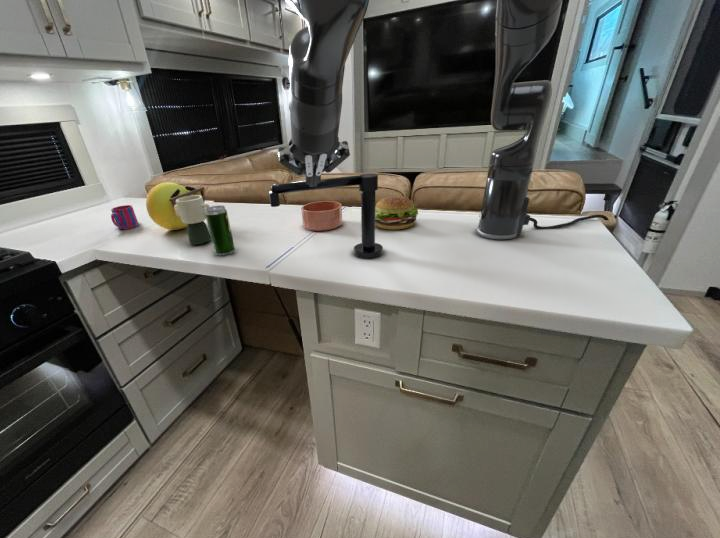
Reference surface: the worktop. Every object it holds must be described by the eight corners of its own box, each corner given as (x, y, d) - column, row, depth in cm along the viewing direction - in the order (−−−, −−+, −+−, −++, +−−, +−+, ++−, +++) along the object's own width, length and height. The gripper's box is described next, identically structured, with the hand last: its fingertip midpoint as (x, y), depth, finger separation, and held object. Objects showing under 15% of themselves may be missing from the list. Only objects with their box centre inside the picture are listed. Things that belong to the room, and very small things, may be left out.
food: (368, 218, 106) (368, 192, 102) (413, 216, 103) (415, 190, 99) (368, 232, 94) (368, 204, 90) (419, 231, 92) (421, 202, 88)
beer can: (219, 257, 86) (207, 212, 80) (212, 252, 90) (201, 208, 84) (238, 252, 88) (228, 207, 82) (231, 247, 92) (221, 204, 86)
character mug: (223, 238, 99) (212, 194, 93) (212, 246, 93) (200, 200, 87) (190, 238, 102) (178, 195, 95) (178, 247, 96) (164, 201, 89)
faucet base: (380, 247, 84) (382, 186, 76) (384, 258, 78) (386, 193, 70) (353, 248, 85) (351, 188, 77) (354, 259, 79) (353, 195, 71)
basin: (342, 218, 108) (341, 199, 105) (342, 230, 97) (342, 210, 94) (305, 220, 108) (303, 202, 105) (301, 233, 98) (299, 213, 95)
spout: (374, 192, 76) (374, 172, 74) (379, 196, 73) (380, 175, 70) (270, 203, 74) (267, 183, 72) (270, 208, 71) (267, 187, 68)
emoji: (182, 238, 102) (167, 188, 95) (143, 235, 108) (126, 188, 100) (212, 222, 115) (201, 177, 107) (177, 220, 120) (164, 177, 113)
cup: (142, 223, 121) (136, 204, 117) (124, 232, 112) (116, 212, 109) (126, 223, 122) (119, 205, 119) (107, 232, 114) (99, 213, 110)
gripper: (273, 137, 47) (282, 203, 64) (363, 129, 48) (348, 195, 65) (267, 95, 49) (277, 170, 66) (354, 88, 50) (342, 163, 67)
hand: (312, 182), depth 65 cm, fingers closed
